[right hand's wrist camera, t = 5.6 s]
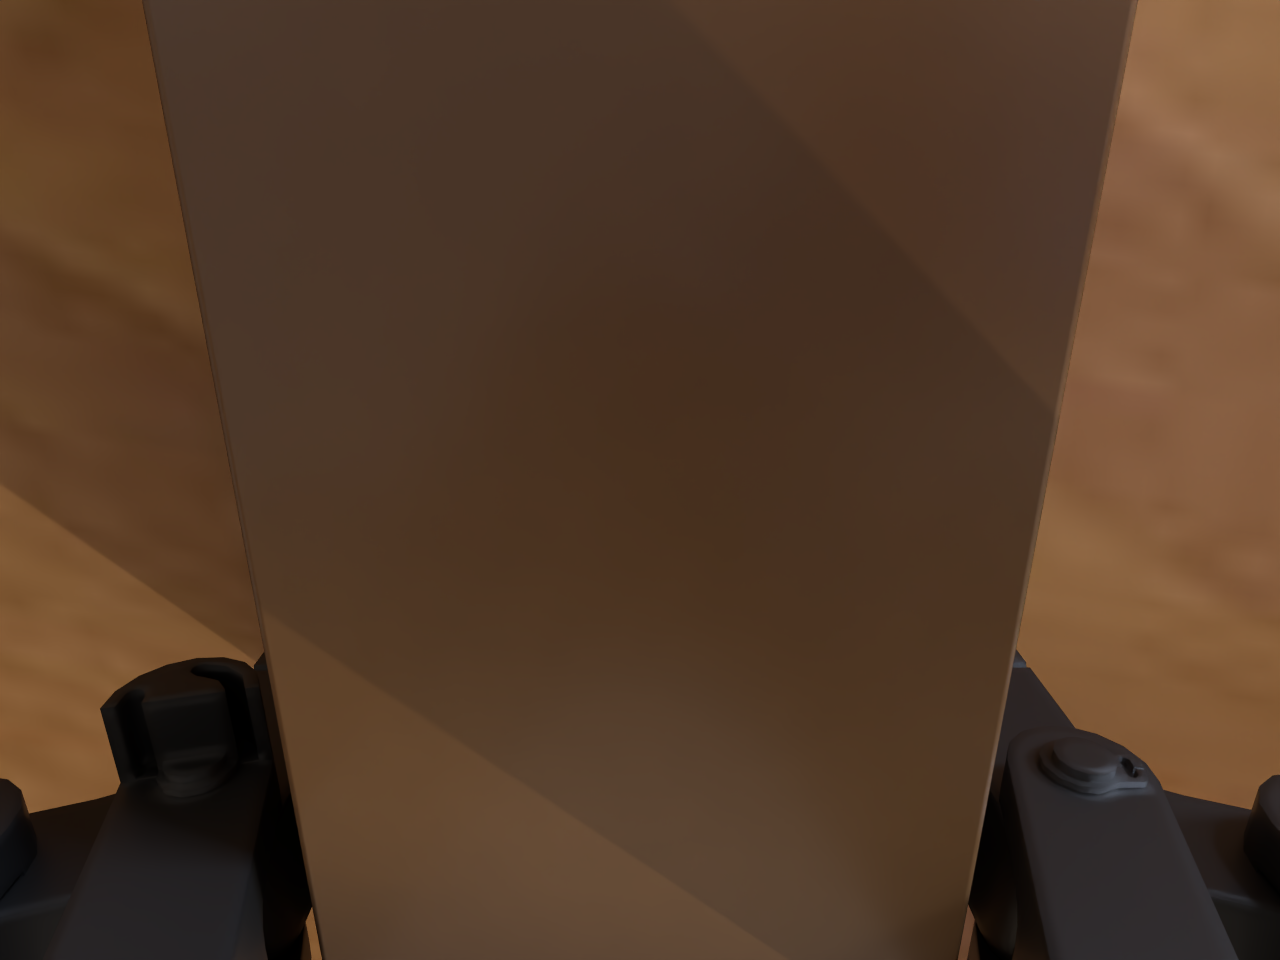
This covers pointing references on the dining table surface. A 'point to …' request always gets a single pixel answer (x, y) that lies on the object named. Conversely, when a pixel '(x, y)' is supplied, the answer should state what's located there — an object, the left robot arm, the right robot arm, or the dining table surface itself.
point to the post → (639, 444)
